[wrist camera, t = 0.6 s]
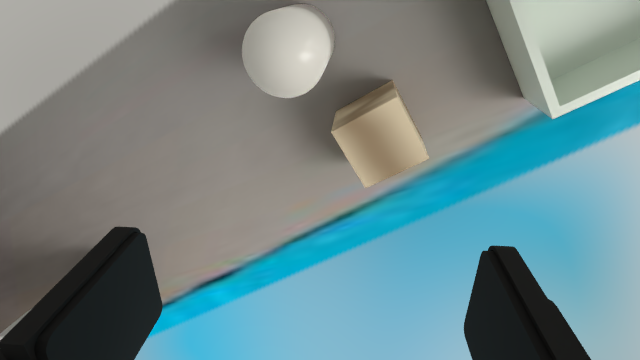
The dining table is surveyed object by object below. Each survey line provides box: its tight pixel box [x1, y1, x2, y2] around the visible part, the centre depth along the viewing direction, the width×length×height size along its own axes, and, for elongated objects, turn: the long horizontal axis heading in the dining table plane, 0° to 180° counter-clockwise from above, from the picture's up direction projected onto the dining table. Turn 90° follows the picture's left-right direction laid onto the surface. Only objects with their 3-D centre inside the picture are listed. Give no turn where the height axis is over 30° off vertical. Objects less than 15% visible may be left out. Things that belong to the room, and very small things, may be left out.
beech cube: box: [331, 80, 429, 188], centre depth 29 cm, size 5×5×5 cm
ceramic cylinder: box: [242, 4, 335, 98], centre depth 25 cm, size 5×5×7 cm
